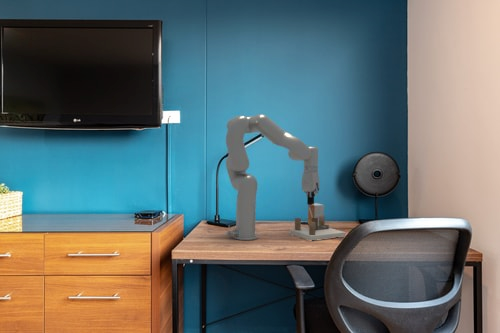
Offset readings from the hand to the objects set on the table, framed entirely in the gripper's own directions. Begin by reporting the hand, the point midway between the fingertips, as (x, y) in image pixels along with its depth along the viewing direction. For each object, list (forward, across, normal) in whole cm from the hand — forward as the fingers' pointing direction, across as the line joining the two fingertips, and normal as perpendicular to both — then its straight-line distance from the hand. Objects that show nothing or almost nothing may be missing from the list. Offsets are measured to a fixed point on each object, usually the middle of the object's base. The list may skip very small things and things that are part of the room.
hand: (310, 204), depth 183 cm
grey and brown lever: (+13, +4, +3) cm, 14 cm away
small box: (+16, -15, +15) cm, 26 cm away
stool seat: (+15, +6, -1) cm, 17 cm away
